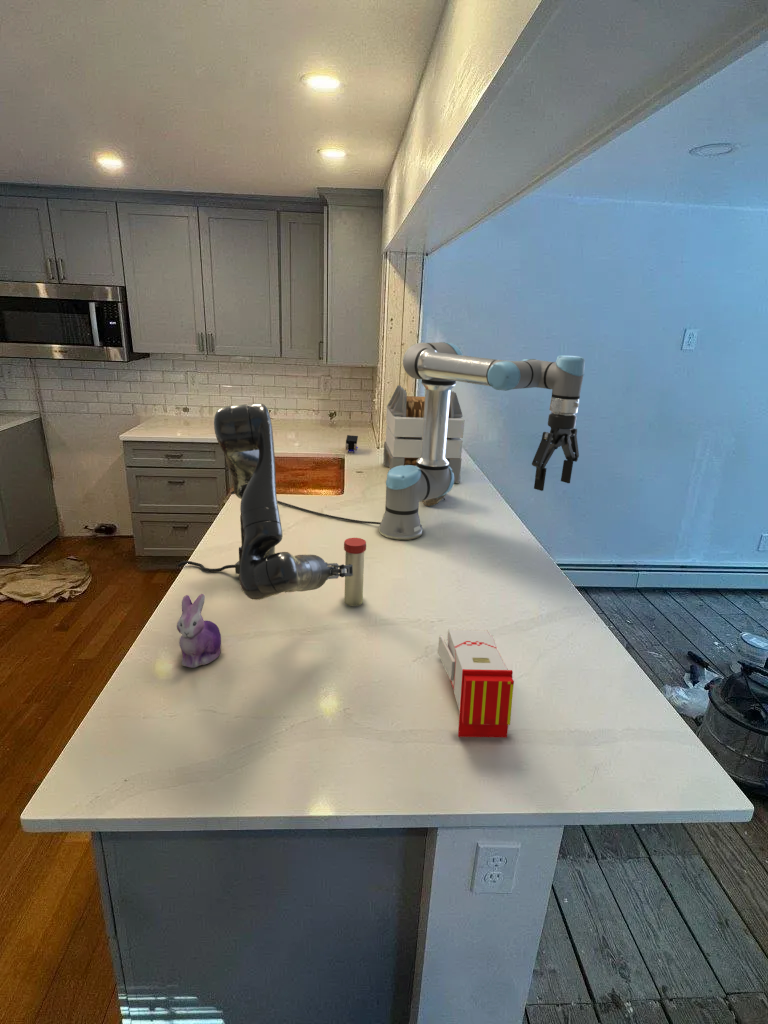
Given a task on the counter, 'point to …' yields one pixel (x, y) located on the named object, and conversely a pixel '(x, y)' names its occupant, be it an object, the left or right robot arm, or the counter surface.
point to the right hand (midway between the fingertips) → (552, 485)
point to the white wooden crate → (419, 431)
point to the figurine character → (351, 443)
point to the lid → (355, 545)
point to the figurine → (197, 634)
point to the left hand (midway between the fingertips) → (329, 570)
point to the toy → (478, 682)
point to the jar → (354, 579)
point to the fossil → (433, 500)
